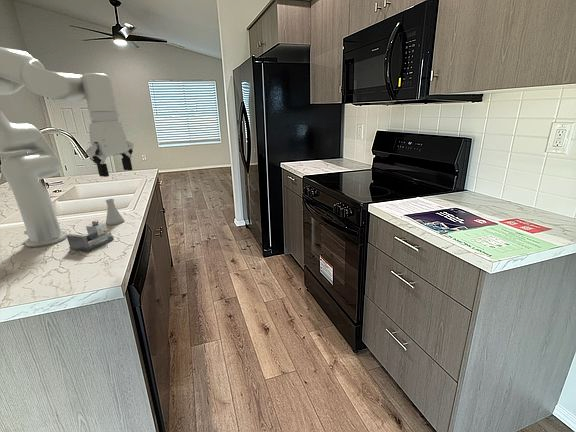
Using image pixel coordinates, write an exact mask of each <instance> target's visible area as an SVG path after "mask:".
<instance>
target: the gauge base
mask: <svg viewBox="0 0 576 432" xmlns="http://www.w3.org/2000/svg"><path fill="white" fill-rule="evenodd" d="M66 236H67V237H66V238H67V242H68V245H69V247H68V248H69V251H73V252H80V251H81V253H90V252H93V251H95V249H98V248H99V247H102V246H104V245H106V244H107V243H110V242H111V241H114V239H115V238H114V236H113V235H112V231H108V233H106V234H104V235H102V236H100V237H98V238H95V239H89V235H88V234H85V235H82V234H72V233H69V234H67V235H66Z"/></svg>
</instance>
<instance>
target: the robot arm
mask: <svg viewBox="0 0 576 432" xmlns="http://www.w3.org/2000/svg"><path fill="white" fill-rule="evenodd" d="M24 87H26V88H27V89H28V91H30V92H31V93H33V94H36V95H39V96H42V97H44V98H47V99H50V100H53V101H59V102H86V104H87V109H88V113H89V117H90V122H91V123H89V124H88V125H89V126H88V127H89V128H88V130H89V139H90V140H89V141H90V147H88V148H87V149H86V150H85V153H86V155H87V156H88V157H89V159H90V160H91V161H92V162H93V163H94V164H95V165H96V166H97V170H98V171H97V172H98V175H99V177H102V178H103V177H104V178H105V177H106V178H107V177H110V174H109V168H108V165H107V163H106V160H107V157H114V156H118V155H120V156H121V157H122V158H121V163H122V168H123V170H124V171H132V170H133V165H132V164H133V163H132V159H131V158H132V157H133V156H132V154H133V153H134V150H133V149H134V143H133V142H130V141H128V140H127V137H126V134H125V130H124V128H123V124H122V123H121V121H120V119H119V118H120V114H119V113H118V108H117V104H116V99H115V95H114V88H113V84H112V80H111V77H110V76H109V75H108V74H105V73H98V72H93V73H92V72H89V73H87V72H86V73H84V74H76V73H67V72H57V71H52V70H49V69H46V68H45V66H44V64H43V63H42V62H40V60H38V59H36V58H34V56H32V55H31V54H29V53H28V52H27V51H24V50H20V49H14V48H7V47H3V46H0V96H10V95H14V94H15V93H17V92H18V91H20V90H21V89H22V88H24ZM18 152H19V153H20V152H21V154H14V153H18ZM22 152H26V153H22ZM0 154H1V155H2V154H14V155H12V156H8V157H6V158H4V160H2V162H1V164H0V172H1V174H2V175H3V177H4V179H5V180H6V181H7V183H8V185H9V187H10V189H11V191H12V195H13V196H14V199H15V202H16V203H17V204H16V205H17V207H18V210H19V213H20V216H21V219H22V221H23V224H24V227H25V229H26V230H24V232H23V234H24V235H27V236H28V237H27V239H26V240H25V241H24V242H25V246H26V247H30V248H38V247H39V248H40V247H44V246H49V245H52V244H53V245H54V244H56V243H59V242H61V241H63V240H65V239H66V238H67V236H66V235H68V233H67V232H66V231H64V230H61V227H60V223H59V221H58V218H57V213H56V211H55V208H54V205H53V202H52V198H51V195H50V192H49V190H48V189H47V188H46V187H45V186H44V185H43V184H42V183H41V182H40V180H43V179H48V178H51V177H54V176H57V175H58V174H59V173H60V171H61V169H62V165H61V162H60V161H61V160H59V156H58V155H57V154H56V153H55V151H54V150H53V148H52V147H51V145H50V143H49V142H48V141H47V139H46V138H45V135H44V134H43V133H42V132H41V131H40V130H39V128H37V127H36V126H34V125H33V124H30V123H27V122H19V123H18V122H17V123H15V122H14V123H13V122H10V121H9V119H8V118H7V117H6V115H5V113H3V111H2V110H1V109H0Z"/></svg>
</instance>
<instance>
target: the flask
mask: <svg viewBox="0 0 576 432" xmlns="http://www.w3.org/2000/svg"><path fill="white" fill-rule="evenodd" d="M105 203H106V206H107V207H106V208H107V210H106V218H105V219H106V220H105V223H106V226H114V225H118V224H120V223H123V222H125V219H124V217H123V216H122V214H121V213H120V211H119V210H118V208H117V206H116V204H115V199H114V198H108V199H105Z"/></svg>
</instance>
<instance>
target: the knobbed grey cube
mask: <svg viewBox="0 0 576 432" xmlns="http://www.w3.org/2000/svg"><path fill="white" fill-rule="evenodd" d="M85 228H86V231H87V235H89V239H95V238H98V237H100V236H102V235H104V234H106V233H108V232H109V231H108V228H107V224H106V222H99V220H92V221H91V224H88V225H86V226H85Z"/></svg>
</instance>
